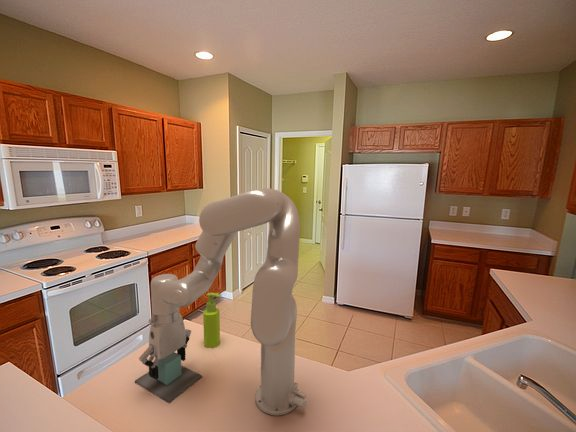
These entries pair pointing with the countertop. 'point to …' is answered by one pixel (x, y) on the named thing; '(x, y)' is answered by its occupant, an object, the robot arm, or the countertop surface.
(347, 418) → the countertop surface
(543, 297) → the countertop surface
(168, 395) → the grey base plate
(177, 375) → the teal cuboid
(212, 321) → the soap dispenser
